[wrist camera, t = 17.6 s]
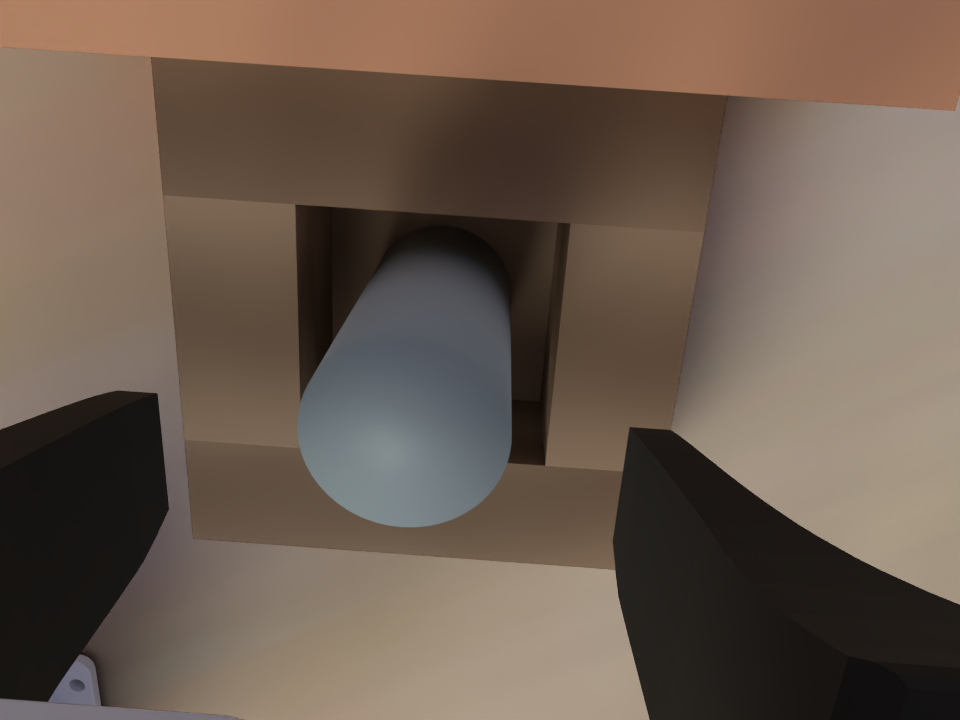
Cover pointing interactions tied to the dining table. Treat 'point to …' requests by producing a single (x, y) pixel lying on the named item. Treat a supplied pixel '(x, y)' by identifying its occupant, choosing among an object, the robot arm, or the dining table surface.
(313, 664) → the dining table surface
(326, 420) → the dowel
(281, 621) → the dining table surface
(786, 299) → the dining table surface
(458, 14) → the block
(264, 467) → the pocket block
